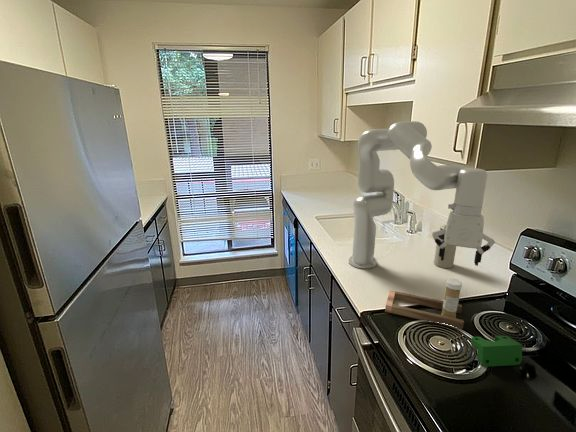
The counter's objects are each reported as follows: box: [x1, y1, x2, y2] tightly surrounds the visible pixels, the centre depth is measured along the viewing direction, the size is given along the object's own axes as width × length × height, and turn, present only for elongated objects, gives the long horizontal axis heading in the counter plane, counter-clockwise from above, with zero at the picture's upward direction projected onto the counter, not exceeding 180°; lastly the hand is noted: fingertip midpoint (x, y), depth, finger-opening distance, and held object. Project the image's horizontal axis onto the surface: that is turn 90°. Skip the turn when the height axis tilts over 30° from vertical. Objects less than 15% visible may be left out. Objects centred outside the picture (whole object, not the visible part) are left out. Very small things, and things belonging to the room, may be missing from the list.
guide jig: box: [384, 290, 465, 330], centre depth 113 cm, size 11×24×2 cm, turn 66°
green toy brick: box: [470, 335, 523, 367], centre depth 91 cm, size 12×6×9 cm, turn 89°
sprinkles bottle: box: [440, 278, 463, 318], centre depth 108 cm, size 5×5×14 cm
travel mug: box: [433, 224, 457, 269], centre depth 145 cm, size 8×8×18 cm
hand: (458, 261), depth 103 cm, fingers open, 9 cm apart
